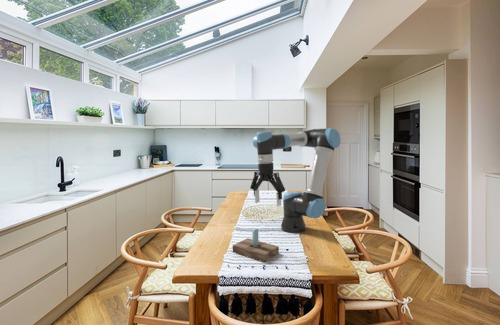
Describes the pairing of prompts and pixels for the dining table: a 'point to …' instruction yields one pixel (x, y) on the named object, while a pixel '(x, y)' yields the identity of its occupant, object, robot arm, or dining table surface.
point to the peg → (255, 238)
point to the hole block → (256, 250)
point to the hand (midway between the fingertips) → (267, 204)
